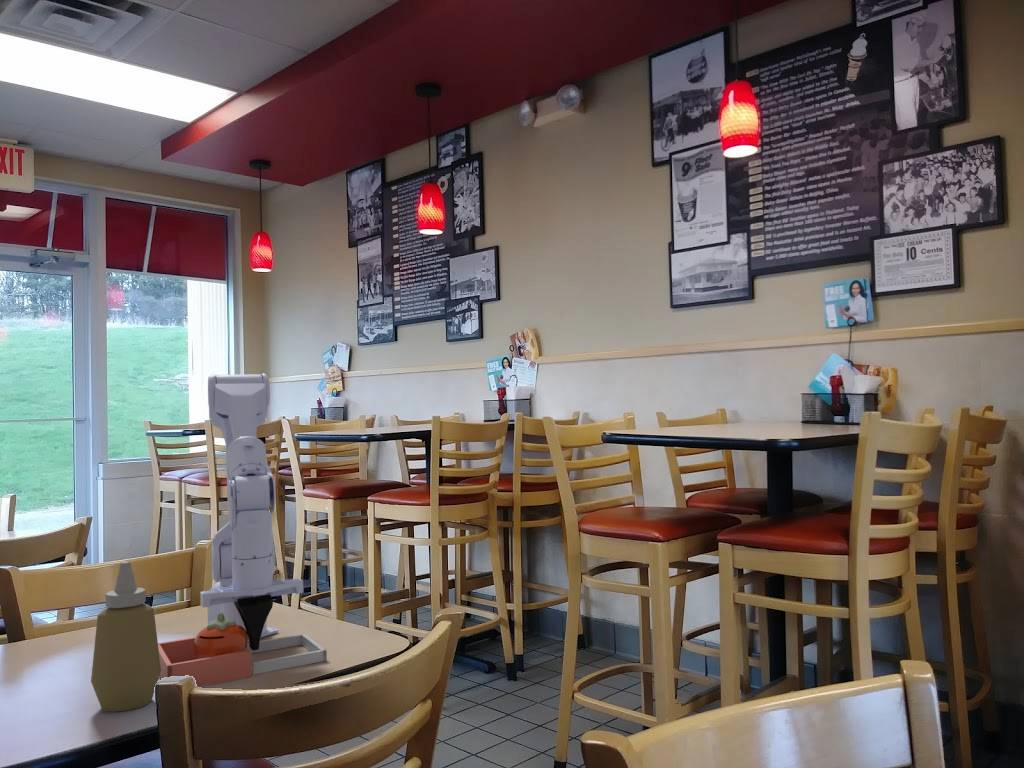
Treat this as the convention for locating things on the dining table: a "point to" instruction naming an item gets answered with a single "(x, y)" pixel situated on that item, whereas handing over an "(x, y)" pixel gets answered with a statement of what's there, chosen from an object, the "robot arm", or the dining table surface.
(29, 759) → the dining table surface
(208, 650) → the tomato
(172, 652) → the bin
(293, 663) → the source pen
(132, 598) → the squeeze bottle
